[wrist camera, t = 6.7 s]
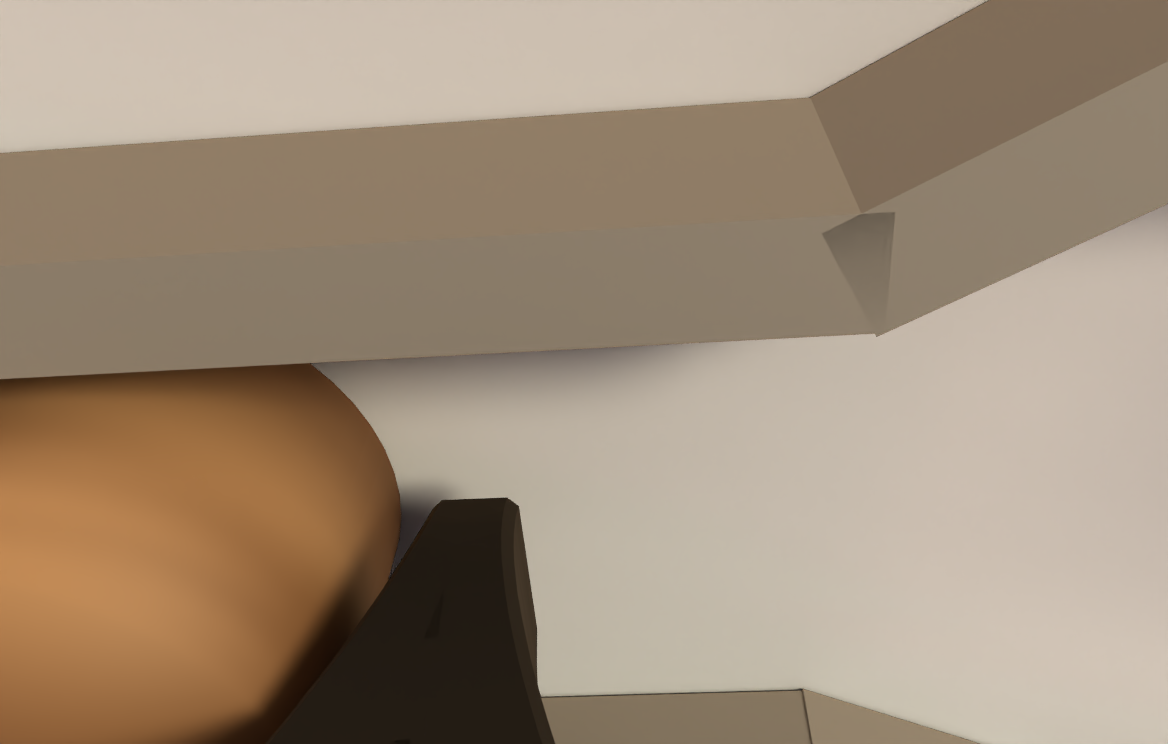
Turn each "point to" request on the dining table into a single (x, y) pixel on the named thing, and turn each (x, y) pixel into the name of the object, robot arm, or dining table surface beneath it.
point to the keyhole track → (605, 243)
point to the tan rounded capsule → (182, 550)
